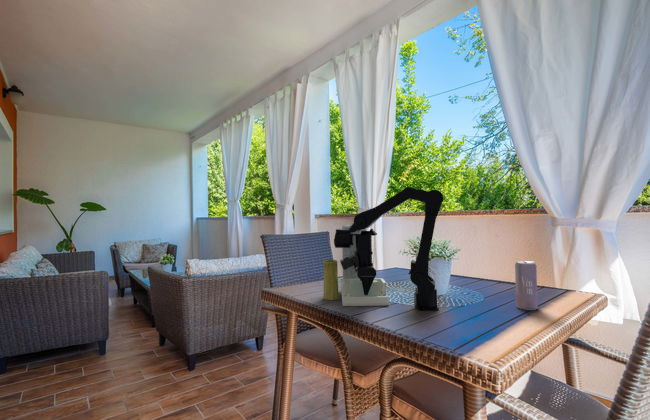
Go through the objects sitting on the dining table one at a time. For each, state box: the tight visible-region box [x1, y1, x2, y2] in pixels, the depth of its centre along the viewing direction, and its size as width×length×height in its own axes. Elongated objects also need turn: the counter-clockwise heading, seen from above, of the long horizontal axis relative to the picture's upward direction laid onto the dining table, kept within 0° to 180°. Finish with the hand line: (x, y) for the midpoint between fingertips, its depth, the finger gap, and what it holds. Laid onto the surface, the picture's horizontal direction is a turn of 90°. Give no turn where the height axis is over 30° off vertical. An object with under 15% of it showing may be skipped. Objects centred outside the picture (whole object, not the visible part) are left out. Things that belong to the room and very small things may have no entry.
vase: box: [322, 259, 340, 301], centre depth 123 cm, size 6×6×14 cm
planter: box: [341, 225, 367, 279], centre depth 134 cm, size 10×10×27 cm
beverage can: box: [514, 260, 538, 311], centre depth 106 cm, size 6×6×15 cm
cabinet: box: [340, 277, 390, 307], centre depth 119 cm, size 16×13×7 cm
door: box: [350, 281, 378, 296], centre depth 115 cm, size 10×2×7 cm, turn 89°
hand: (364, 292), depth 115 cm, fingers open, 8 cm apart
